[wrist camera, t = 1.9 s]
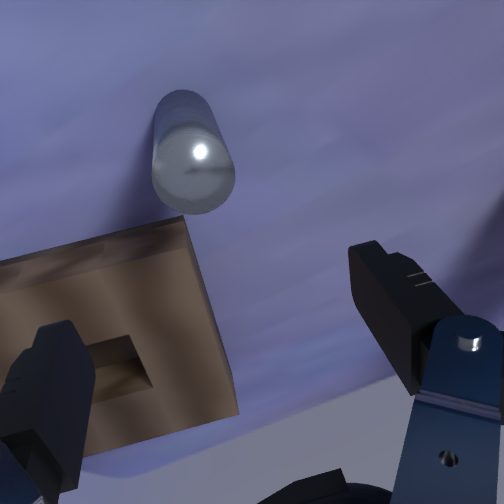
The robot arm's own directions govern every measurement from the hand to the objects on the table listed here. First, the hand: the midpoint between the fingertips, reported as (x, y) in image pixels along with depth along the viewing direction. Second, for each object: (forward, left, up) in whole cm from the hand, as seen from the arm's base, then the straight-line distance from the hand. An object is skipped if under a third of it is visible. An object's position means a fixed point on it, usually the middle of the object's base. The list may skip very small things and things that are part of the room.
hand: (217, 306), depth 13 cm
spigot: (0, 0, -21) cm, 21 cm away
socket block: (+11, +16, -21) cm, 29 cm away
